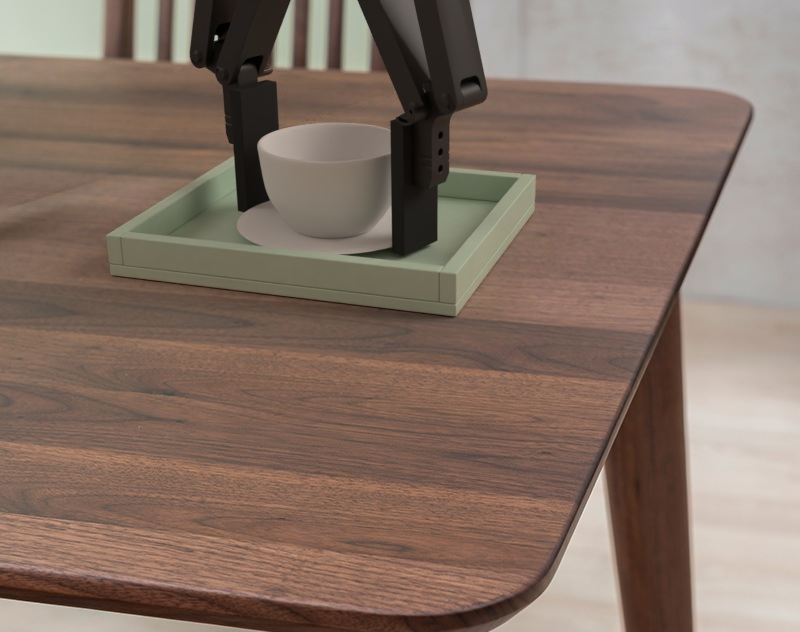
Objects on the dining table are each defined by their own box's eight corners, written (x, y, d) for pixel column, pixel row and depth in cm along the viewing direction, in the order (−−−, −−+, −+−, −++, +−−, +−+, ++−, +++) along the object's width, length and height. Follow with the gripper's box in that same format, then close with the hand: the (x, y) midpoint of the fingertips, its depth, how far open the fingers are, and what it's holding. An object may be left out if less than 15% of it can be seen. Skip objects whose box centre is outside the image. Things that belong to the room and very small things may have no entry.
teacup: (421, 267, 60) (421, 172, 58) (217, 261, 61) (210, 167, 59) (437, 201, 69) (437, 117, 67) (259, 197, 70) (254, 114, 68)
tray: (110, 275, 61) (105, 234, 61) (244, 184, 75) (242, 149, 74) (455, 317, 56) (456, 273, 55) (534, 211, 70) (536, 174, 69)
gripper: (584, -265, 51) (558, 250, 61) (202, -256, 64) (232, 170, 74) (477, -266, 46) (468, 297, 56) (84, -257, 59) (134, 202, 69)
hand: (334, 225), depth 65 cm, fingers closed on teacup, 10 cm apart
